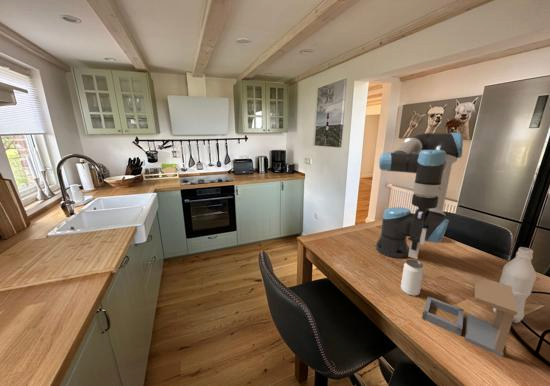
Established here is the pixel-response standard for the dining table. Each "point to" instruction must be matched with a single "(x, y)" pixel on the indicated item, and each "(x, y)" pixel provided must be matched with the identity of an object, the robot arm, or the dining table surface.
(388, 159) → the robot arm
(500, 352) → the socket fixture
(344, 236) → the dining table surface
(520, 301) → the water bottle
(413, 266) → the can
